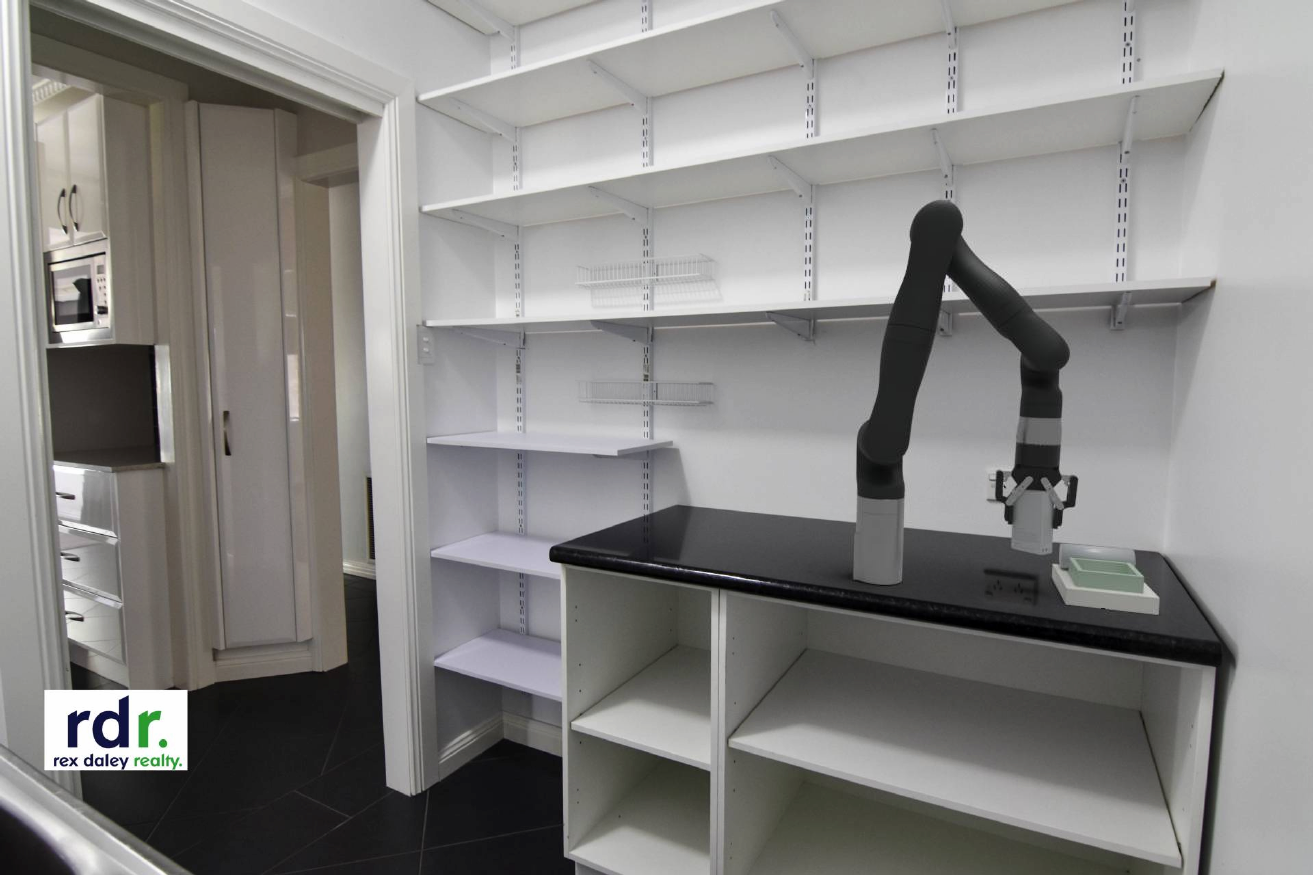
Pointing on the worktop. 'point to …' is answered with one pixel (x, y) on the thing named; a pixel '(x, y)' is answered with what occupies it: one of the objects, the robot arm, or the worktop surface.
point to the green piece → (1106, 575)
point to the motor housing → (1100, 597)
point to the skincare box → (1033, 522)
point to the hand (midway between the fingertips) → (1032, 525)
